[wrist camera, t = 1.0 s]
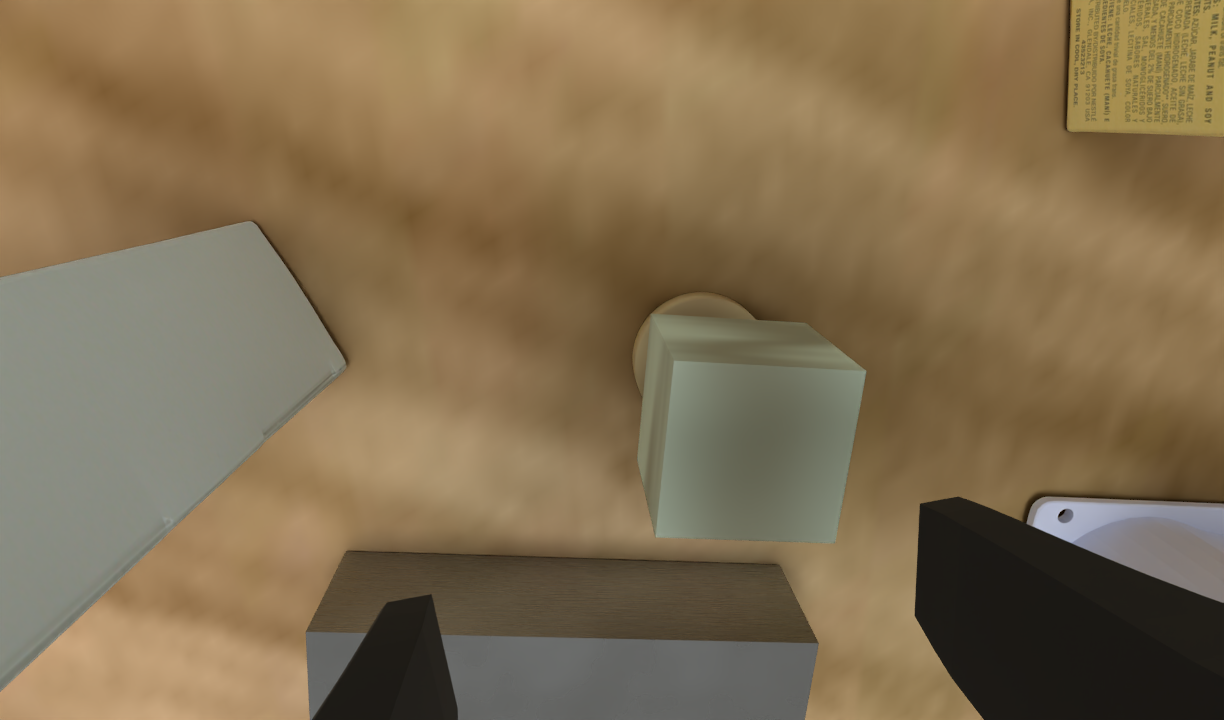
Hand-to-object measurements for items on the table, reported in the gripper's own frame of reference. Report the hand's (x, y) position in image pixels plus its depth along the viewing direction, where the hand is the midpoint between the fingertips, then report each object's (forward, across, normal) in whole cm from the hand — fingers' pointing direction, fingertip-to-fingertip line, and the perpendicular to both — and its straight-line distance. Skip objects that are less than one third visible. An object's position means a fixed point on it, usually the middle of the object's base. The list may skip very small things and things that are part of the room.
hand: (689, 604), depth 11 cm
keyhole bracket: (+12, +2, +13) cm, 18 cm away
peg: (+12, -3, +1) cm, 12 cm away
